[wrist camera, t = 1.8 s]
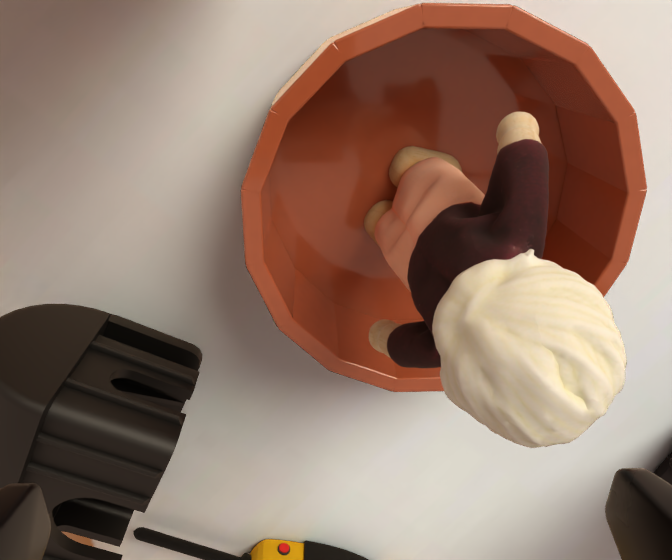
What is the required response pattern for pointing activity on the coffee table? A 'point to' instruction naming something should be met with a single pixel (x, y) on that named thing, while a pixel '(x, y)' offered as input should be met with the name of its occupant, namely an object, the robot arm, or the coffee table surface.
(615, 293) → the coffee table surface
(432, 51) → the desk pot
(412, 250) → the grandmother figurine
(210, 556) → the yellow walkie-talkie
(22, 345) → the end cap
